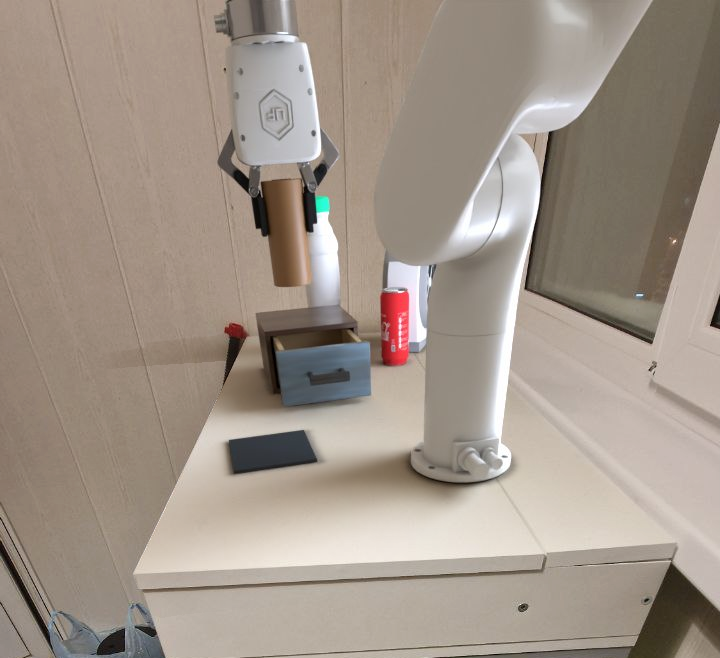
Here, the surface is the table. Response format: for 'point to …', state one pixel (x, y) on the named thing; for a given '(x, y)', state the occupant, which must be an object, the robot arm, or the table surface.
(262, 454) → the mat
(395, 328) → the beverage can
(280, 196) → the paper roll
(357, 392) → the drawer
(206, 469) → the table surface
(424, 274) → the white and grey container
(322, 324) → the cabinet
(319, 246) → the water bottle
